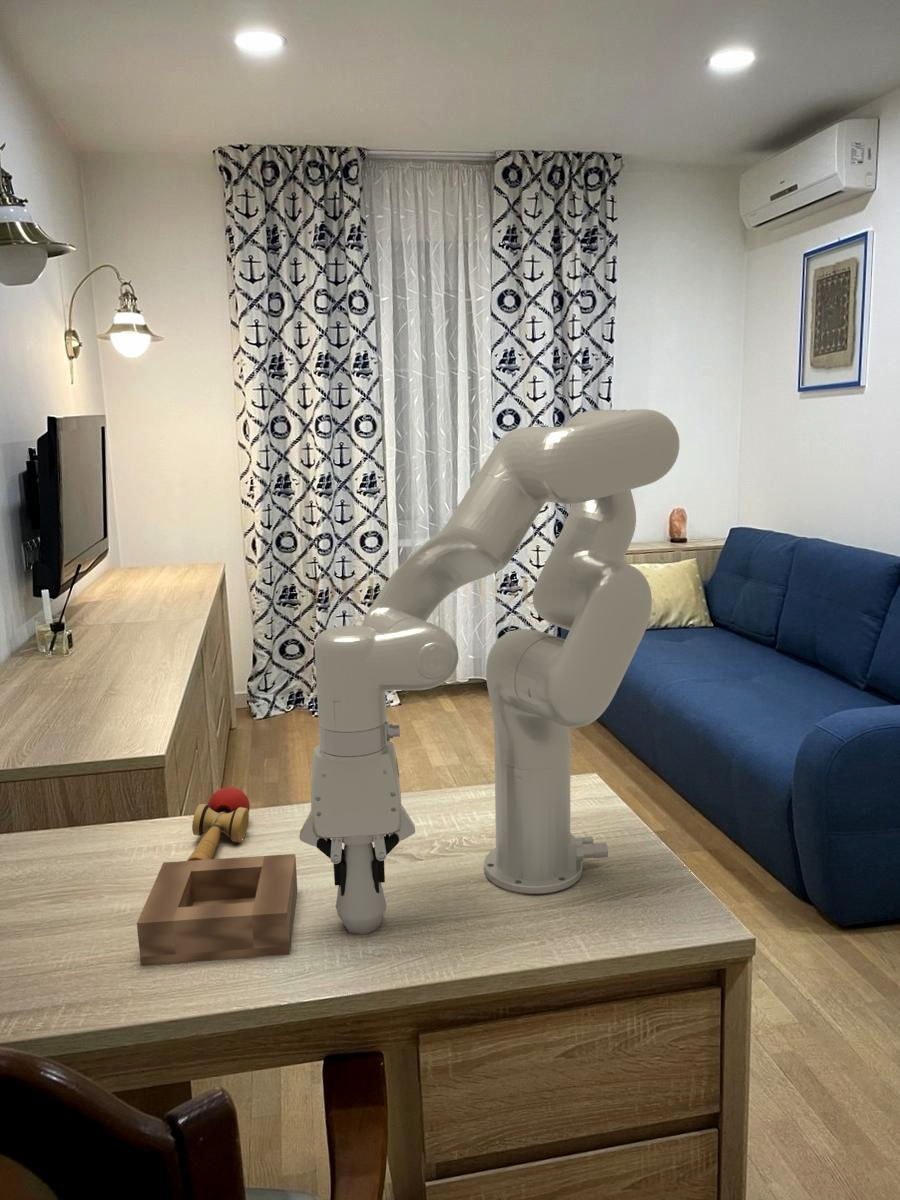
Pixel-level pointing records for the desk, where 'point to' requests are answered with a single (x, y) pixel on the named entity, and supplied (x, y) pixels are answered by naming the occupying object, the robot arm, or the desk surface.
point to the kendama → (220, 821)
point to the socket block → (219, 910)
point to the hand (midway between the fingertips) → (360, 887)
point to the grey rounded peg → (360, 888)
